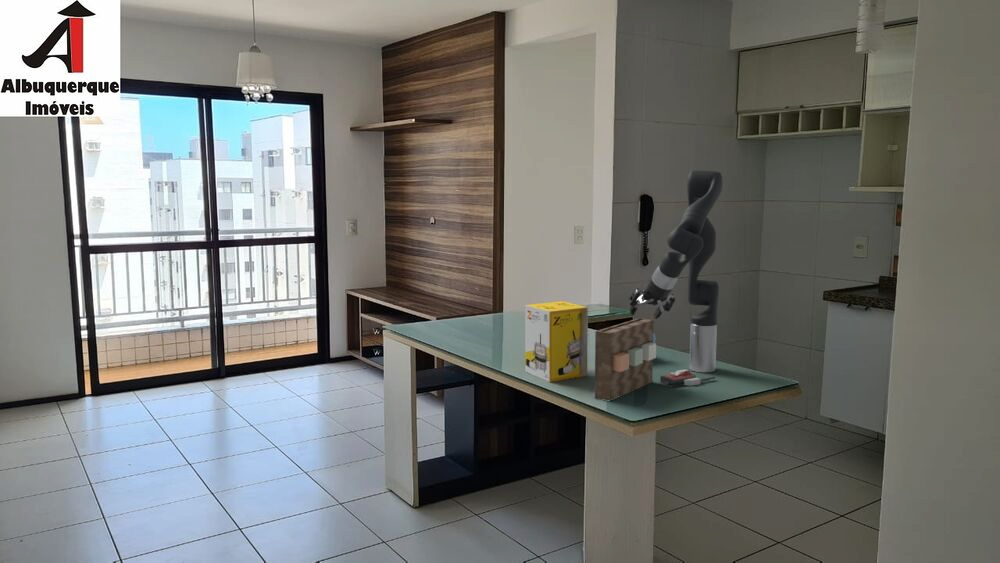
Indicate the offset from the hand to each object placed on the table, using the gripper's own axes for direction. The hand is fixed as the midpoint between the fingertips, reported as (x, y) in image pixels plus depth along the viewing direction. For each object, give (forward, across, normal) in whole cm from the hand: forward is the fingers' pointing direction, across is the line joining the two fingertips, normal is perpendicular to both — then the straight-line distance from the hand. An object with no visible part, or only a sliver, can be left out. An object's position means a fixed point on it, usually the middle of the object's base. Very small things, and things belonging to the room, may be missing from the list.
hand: (643, 315), depth 239 cm
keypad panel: (+19, +3, +17) cm, 26 cm away
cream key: (+12, -4, +8) cm, 15 cm away
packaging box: (+36, +19, 0) cm, 41 cm away
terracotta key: (+8, +9, +19) cm, 23 cm away
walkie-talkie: (+18, -22, +12) cm, 30 cm away
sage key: (+10, +3, +14) cm, 17 cm away
